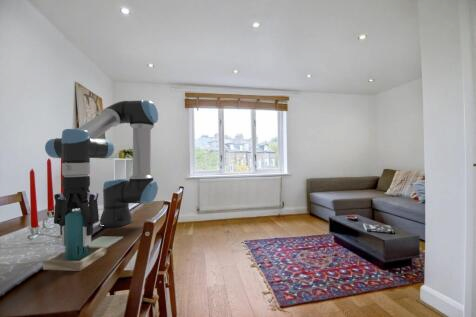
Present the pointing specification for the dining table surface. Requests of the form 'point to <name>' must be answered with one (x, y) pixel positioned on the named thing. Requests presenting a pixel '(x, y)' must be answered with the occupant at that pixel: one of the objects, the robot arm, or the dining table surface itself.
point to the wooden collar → (59, 264)
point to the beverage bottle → (74, 234)
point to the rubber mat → (104, 241)
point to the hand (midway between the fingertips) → (76, 244)
